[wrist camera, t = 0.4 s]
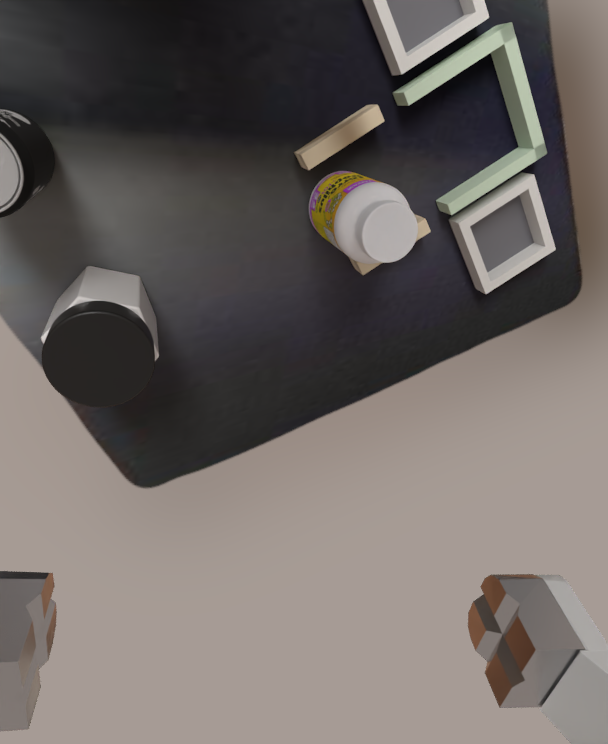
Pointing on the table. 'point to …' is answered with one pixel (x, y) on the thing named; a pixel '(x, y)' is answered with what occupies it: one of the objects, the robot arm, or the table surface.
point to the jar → (101, 339)
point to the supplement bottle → (363, 217)
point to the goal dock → (516, 98)
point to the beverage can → (22, 160)
